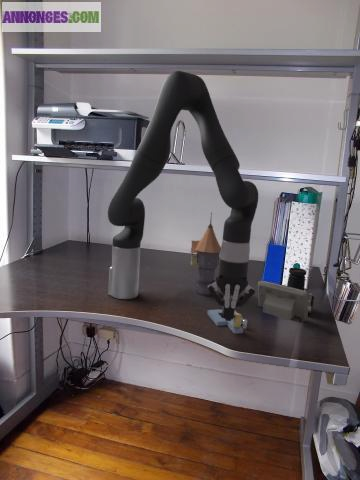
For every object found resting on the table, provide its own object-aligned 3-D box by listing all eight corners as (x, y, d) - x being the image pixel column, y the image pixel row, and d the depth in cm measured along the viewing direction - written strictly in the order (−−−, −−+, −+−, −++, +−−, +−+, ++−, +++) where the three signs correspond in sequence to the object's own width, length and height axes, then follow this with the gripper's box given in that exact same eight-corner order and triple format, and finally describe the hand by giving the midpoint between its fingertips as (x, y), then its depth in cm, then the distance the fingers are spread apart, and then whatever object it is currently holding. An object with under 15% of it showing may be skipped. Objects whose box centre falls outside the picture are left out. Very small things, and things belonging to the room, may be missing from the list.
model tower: (187, 291, 135) (194, 209, 129) (218, 293, 134) (225, 211, 129) (186, 300, 126) (193, 212, 120) (219, 303, 125) (227, 215, 119)
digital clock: (310, 322, 115) (314, 289, 112) (295, 329, 108) (300, 295, 106) (265, 306, 126) (269, 276, 124) (249, 311, 120) (253, 280, 118)
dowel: (241, 329, 103) (242, 320, 102) (242, 327, 104) (243, 318, 103) (245, 330, 103) (246, 321, 102) (246, 328, 104) (247, 319, 103)
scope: (316, 276, 115) (283, 270, 119) (309, 318, 118) (278, 311, 122) (318, 270, 122) (287, 265, 126) (313, 310, 125) (282, 303, 129)
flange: (207, 313, 112) (208, 299, 111) (233, 312, 114) (234, 298, 113) (224, 334, 99) (225, 317, 98) (252, 332, 101) (254, 316, 100)
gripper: (210, 259, 93) (204, 323, 97) (262, 263, 93) (254, 327, 97) (208, 252, 101) (202, 312, 104) (256, 256, 101) (250, 316, 104)
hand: (228, 319), depth 100 cm, fingers closed
